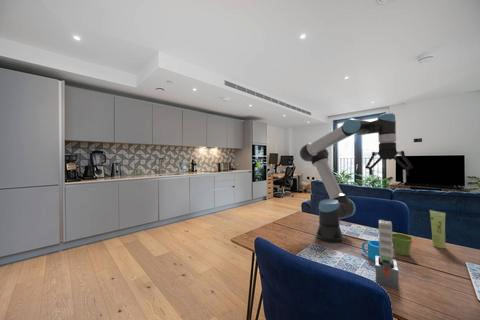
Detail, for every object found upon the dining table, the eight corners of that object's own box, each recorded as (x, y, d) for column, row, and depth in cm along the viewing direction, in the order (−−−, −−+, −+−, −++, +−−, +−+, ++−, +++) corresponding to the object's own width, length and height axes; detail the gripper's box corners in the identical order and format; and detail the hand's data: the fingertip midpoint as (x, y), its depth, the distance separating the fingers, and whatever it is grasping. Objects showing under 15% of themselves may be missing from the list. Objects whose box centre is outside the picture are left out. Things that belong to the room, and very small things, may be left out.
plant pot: (408, 259, 93) (407, 241, 93) (386, 251, 102) (385, 235, 102) (417, 254, 98) (416, 237, 98) (395, 247, 106) (395, 231, 106)
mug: (392, 263, 91) (392, 245, 91) (381, 267, 87) (381, 249, 87) (367, 252, 102) (367, 236, 102) (356, 255, 98) (356, 239, 99)
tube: (431, 246, 106) (430, 211, 106) (430, 243, 110) (429, 209, 110) (446, 249, 103) (445, 213, 103) (444, 246, 106) (443, 211, 107)
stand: (358, 283, 76) (358, 258, 76) (360, 269, 86) (360, 247, 86) (420, 301, 66) (419, 273, 66) (414, 283, 76) (413, 258, 76)
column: (379, 264, 75) (379, 223, 75) (379, 258, 79) (378, 219, 79) (393, 267, 72) (392, 224, 73) (391, 260, 77) (390, 221, 77)
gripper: (359, 143, 108) (360, 181, 108) (419, 140, 94) (420, 183, 94) (360, 144, 114) (361, 180, 114) (416, 141, 100) (417, 182, 100)
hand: (388, 181), depth 104 cm, fingers open, 13 cm apart
